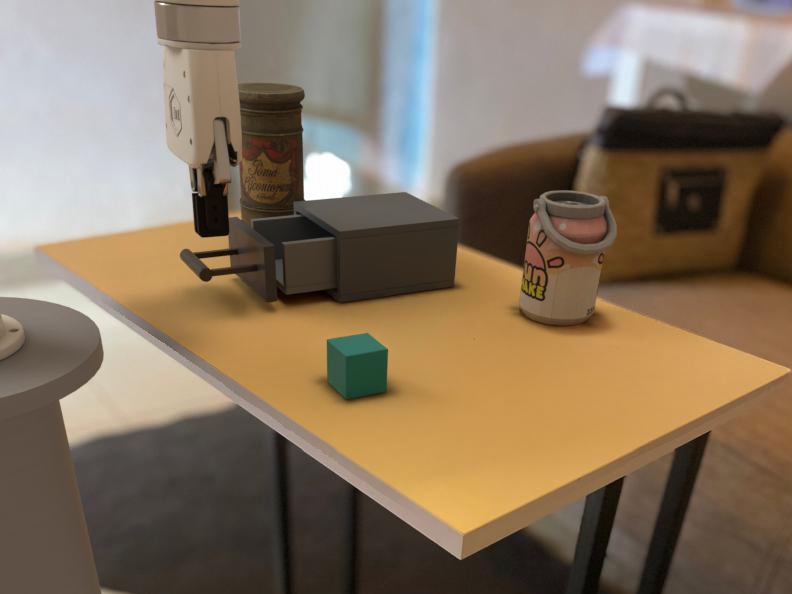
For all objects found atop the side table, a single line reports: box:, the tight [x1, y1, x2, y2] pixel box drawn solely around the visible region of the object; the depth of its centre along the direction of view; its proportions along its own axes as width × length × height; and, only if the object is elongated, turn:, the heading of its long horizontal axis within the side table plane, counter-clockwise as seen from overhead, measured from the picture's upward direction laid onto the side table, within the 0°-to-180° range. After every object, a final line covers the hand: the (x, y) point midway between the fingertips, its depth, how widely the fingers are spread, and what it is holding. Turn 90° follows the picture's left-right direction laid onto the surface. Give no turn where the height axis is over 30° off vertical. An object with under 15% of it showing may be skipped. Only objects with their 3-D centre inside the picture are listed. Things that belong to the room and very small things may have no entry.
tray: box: [179, 214, 337, 304], centre depth 91 cm, size 20×11×6 cm, turn 118°
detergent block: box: [326, 332, 389, 400], centre depth 73 cm, size 4×4×4 cm
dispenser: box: [293, 191, 461, 303], centre depth 96 cm, size 15×13×8 cm
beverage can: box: [518, 189, 618, 327], centre depth 87 cm, size 9×8×12 cm
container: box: [238, 82, 306, 227], centre depth 101 cm, size 9×9×18 cm
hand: (212, 234), depth 87 cm, fingers closed
